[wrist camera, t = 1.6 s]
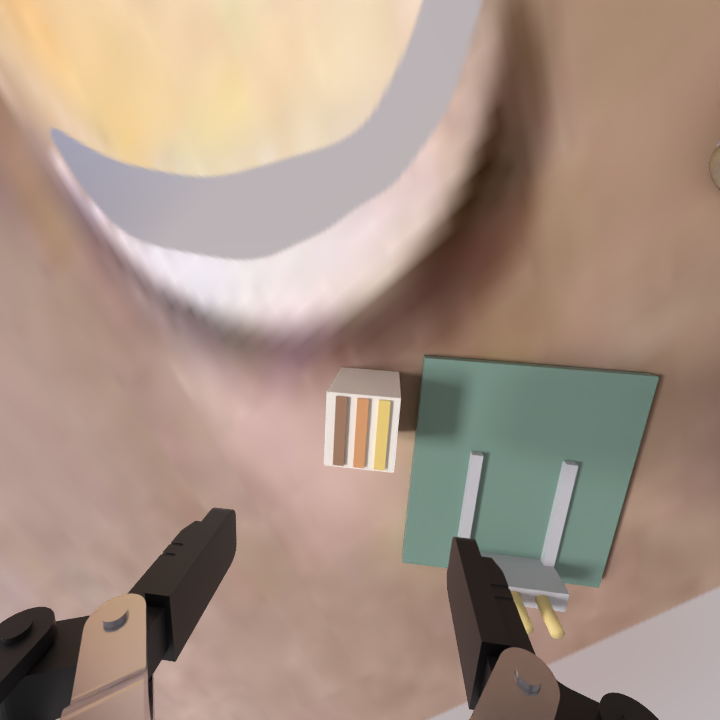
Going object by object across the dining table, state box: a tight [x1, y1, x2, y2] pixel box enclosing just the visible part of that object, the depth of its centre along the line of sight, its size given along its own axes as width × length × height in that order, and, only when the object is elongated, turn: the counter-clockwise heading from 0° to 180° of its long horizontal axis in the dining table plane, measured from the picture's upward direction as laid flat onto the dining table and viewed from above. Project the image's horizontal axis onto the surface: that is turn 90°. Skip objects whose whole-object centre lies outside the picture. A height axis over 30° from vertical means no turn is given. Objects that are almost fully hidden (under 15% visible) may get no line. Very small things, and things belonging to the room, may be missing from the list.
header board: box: [402, 355, 659, 639], centre depth 23 cm, size 18×16×6 cm
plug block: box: [324, 367, 401, 473], centre depth 23 cm, size 5×4×6 cm
